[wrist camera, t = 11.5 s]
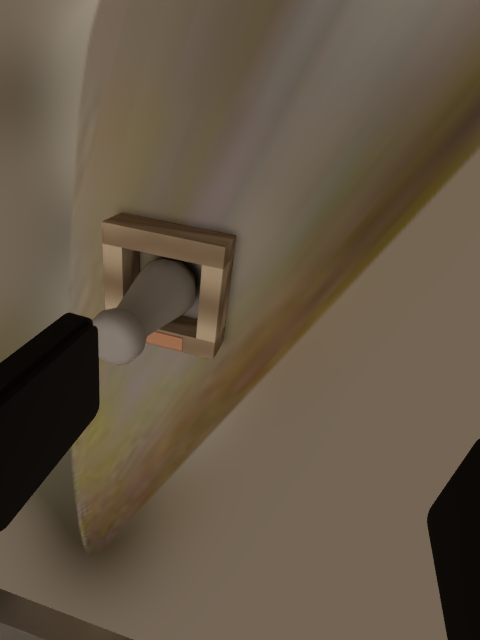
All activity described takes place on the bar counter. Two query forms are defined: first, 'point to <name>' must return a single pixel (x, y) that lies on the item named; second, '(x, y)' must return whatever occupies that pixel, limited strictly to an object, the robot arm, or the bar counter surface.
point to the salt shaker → (144, 310)
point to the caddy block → (182, 244)
